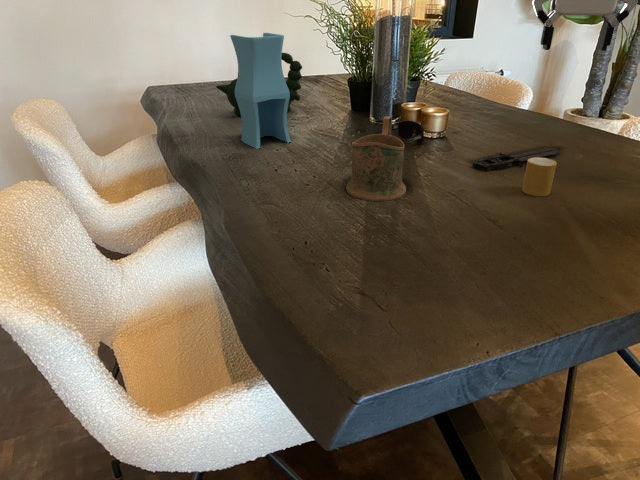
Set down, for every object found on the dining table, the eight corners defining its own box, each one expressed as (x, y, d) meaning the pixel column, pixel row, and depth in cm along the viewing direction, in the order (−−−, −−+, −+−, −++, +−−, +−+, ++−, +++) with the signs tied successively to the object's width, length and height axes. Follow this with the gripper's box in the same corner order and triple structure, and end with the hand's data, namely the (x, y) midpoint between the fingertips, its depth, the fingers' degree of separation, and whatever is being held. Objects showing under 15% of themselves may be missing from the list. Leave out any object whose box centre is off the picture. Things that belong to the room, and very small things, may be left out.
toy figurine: (296, 114, 156) (216, 111, 151) (300, 51, 147) (216, 46, 143) (300, 122, 148) (216, 118, 143) (304, 55, 139) (215, 49, 134)
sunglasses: (429, 146, 119) (429, 126, 116) (389, 160, 115) (388, 139, 112) (403, 135, 127) (402, 117, 125) (365, 148, 123) (363, 129, 120)
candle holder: (546, 187, 95) (553, 157, 92) (552, 197, 91) (559, 166, 88) (519, 186, 96) (525, 156, 93) (524, 195, 92) (530, 164, 89)
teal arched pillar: (272, 133, 130) (266, 32, 119) (291, 142, 123) (287, 35, 112) (238, 139, 126) (229, 35, 114) (256, 149, 118) (248, 38, 107)
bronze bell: (413, 172, 103) (418, 115, 98) (401, 203, 89) (406, 139, 83) (360, 167, 106) (361, 111, 101) (339, 197, 91) (340, 134, 86)
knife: (553, 150, 116) (555, 144, 115) (575, 158, 111) (577, 152, 110) (466, 164, 108) (467, 157, 107) (485, 173, 102) (486, 166, 102)
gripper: (644, -58, 85) (616, 48, 93) (538, -56, 88) (521, 46, 96) (662, -61, 78) (631, 53, 86) (548, -59, 81) (528, 51, 89)
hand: (573, 49), depth 91 cm, fingers open, 9 cm apart
